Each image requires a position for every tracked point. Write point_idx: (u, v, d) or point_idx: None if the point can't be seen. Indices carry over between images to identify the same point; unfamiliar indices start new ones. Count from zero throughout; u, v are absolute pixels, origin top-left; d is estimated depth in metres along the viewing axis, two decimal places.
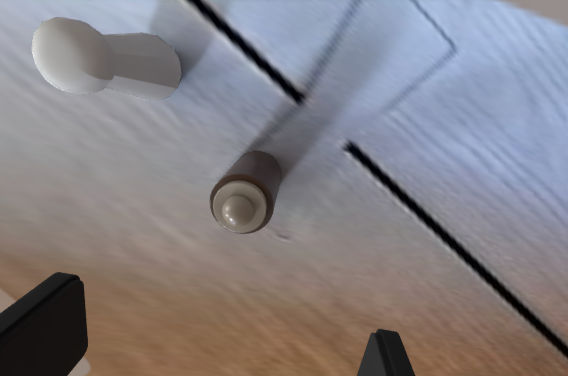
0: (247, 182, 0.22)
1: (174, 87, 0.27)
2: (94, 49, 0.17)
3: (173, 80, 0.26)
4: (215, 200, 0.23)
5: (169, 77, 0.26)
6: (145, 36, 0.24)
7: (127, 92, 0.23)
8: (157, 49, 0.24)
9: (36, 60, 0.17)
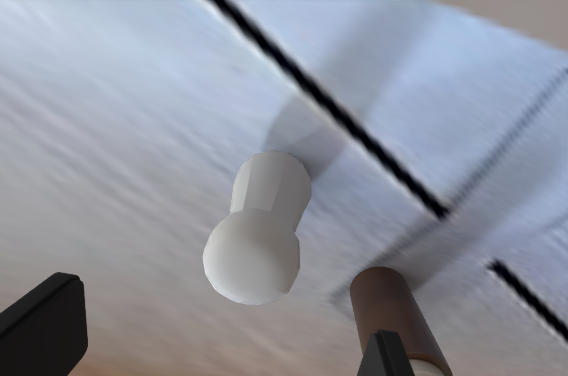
0: (429, 366, 0.18)
1: None
2: (294, 262, 0.12)
3: None
4: None
5: None
6: (286, 166, 0.19)
7: None
8: (300, 182, 0.19)
9: (212, 275, 0.12)
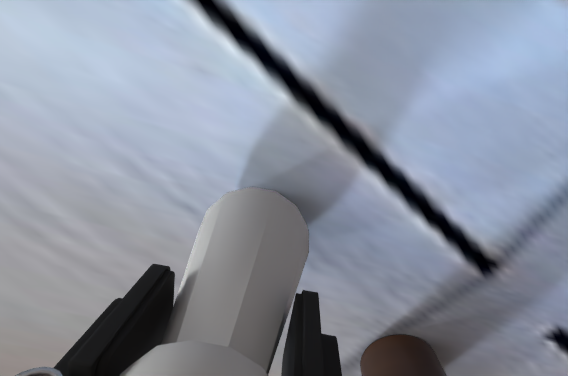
0: None
1: None
2: None
3: None
4: None
5: (300, 271, 0.14)
6: (270, 218, 0.13)
7: None
8: (292, 242, 0.13)
9: None
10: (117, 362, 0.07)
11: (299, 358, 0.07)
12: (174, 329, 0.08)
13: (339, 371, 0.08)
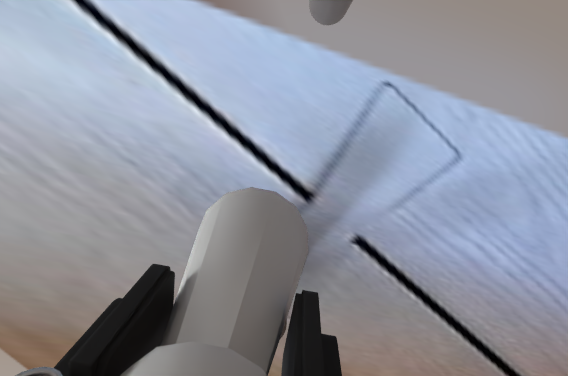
0: None
1: None
2: None
3: None
4: None
5: None
6: (270, 218, 0.13)
7: None
8: (292, 243, 0.13)
9: None
10: (117, 362, 0.07)
11: (299, 358, 0.07)
12: (173, 330, 0.08)
13: (339, 371, 0.08)
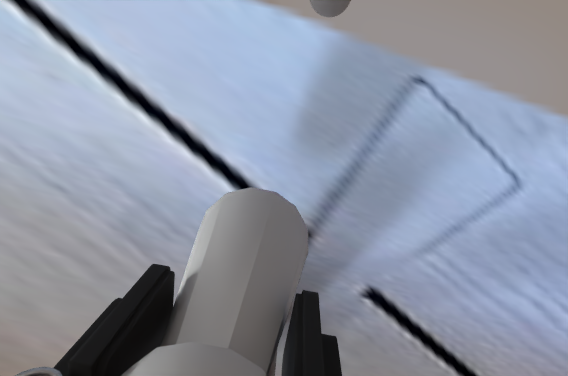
0: None
1: None
2: None
3: None
4: None
5: None
6: (270, 219, 0.13)
7: None
8: (292, 243, 0.13)
9: None
10: (117, 362, 0.07)
11: (299, 358, 0.07)
12: (174, 330, 0.08)
13: (339, 371, 0.08)
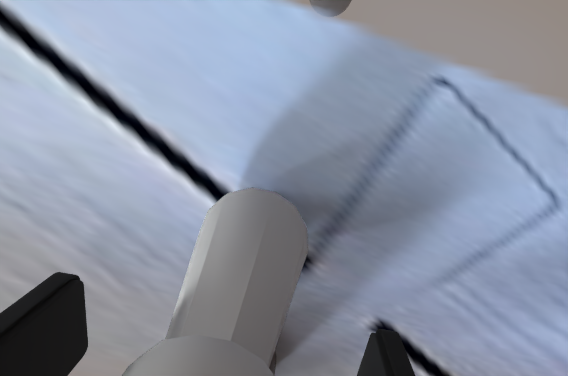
0: None
1: None
2: None
3: None
4: None
5: None
6: (270, 218, 0.13)
7: None
8: (291, 241, 0.13)
9: None
10: None
11: None
12: (178, 325, 0.09)
13: None
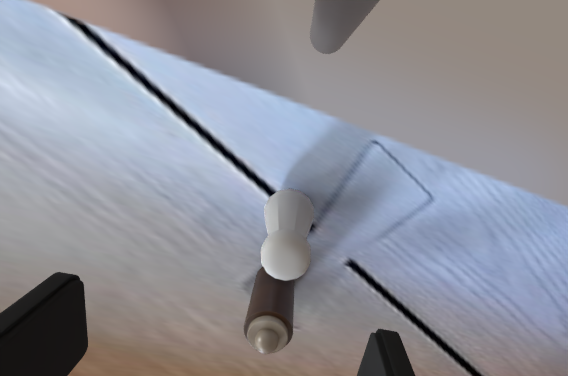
0: (274, 318, 0.30)
1: None
2: (308, 257, 0.24)
3: None
4: (249, 331, 0.30)
5: None
6: (299, 201, 0.31)
7: None
8: (308, 211, 0.31)
9: (266, 263, 0.24)
10: None
11: None
12: None
13: None
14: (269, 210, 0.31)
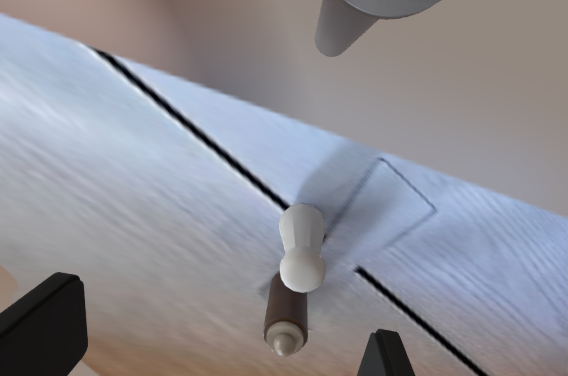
0: (291, 324, 0.33)
1: None
2: (323, 272, 0.27)
3: None
4: (268, 335, 0.33)
5: None
6: (312, 216, 0.34)
7: None
8: (320, 225, 0.34)
9: (285, 278, 0.27)
10: None
11: None
12: (291, 247, 0.29)
13: None
14: (284, 225, 0.34)
